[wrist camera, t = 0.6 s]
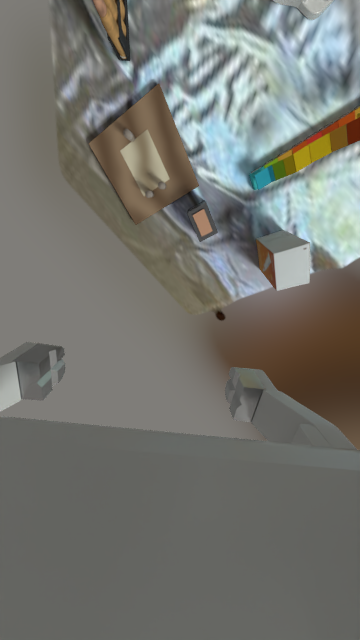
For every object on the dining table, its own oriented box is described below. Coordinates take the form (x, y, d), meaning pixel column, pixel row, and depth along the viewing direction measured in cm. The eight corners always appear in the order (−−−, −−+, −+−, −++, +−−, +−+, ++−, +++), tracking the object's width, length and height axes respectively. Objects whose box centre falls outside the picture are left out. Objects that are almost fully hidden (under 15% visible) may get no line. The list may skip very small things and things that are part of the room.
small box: (255, 238, 46) (272, 253, 35) (283, 229, 45) (311, 241, 34) (259, 269, 50) (276, 291, 40) (285, 262, 49) (310, 283, 38)
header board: (160, 87, 34) (155, 72, 30) (198, 185, 41) (199, 185, 37) (91, 145, 39) (79, 139, 35) (137, 224, 46) (131, 227, 42)
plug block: (204, 200, 43) (206, 202, 37) (214, 227, 46) (217, 232, 40) (188, 210, 44) (187, 213, 38) (199, 235, 47) (199, 242, 41)
